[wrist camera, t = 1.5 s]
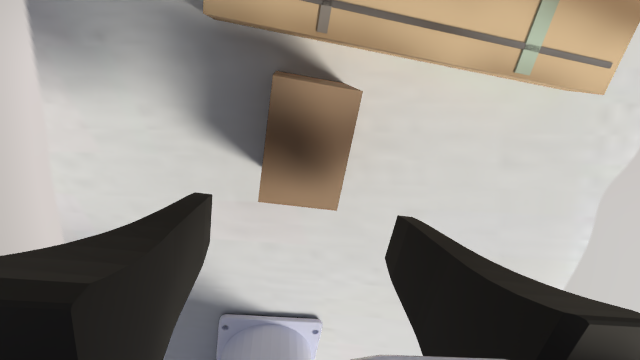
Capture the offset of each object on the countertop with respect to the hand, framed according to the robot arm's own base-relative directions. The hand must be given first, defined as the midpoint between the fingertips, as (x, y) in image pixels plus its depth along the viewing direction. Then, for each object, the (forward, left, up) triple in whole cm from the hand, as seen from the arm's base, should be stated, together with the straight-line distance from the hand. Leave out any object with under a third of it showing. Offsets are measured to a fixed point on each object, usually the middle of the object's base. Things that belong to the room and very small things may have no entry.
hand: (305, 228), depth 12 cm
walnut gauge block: (+2, 0, -9) cm, 9 cm away
